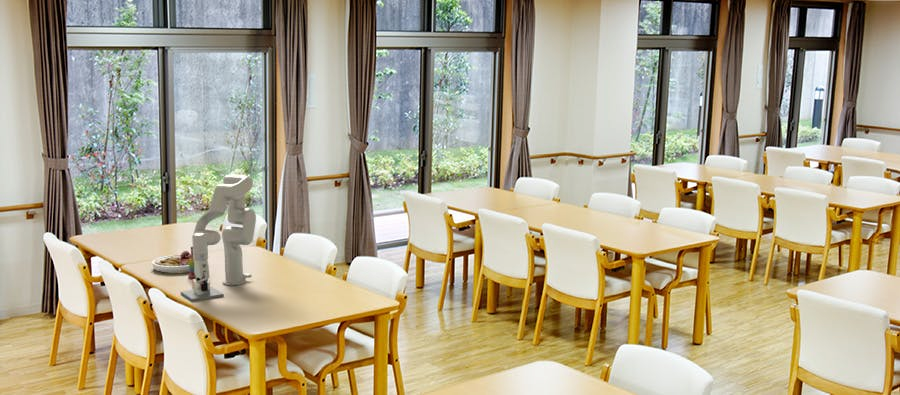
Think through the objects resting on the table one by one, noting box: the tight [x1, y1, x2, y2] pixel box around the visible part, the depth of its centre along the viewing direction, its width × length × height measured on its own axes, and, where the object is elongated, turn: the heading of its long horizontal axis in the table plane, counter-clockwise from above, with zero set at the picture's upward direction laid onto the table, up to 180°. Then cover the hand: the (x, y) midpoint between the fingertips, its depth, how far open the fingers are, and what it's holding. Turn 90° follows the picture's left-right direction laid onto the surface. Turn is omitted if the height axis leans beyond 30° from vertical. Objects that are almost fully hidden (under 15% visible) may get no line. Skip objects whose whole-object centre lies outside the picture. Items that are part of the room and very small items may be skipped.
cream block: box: [193, 279, 211, 295], centre depth 490 cm, size 6×6×6 cm
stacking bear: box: [187, 245, 205, 279], centre depth 527 cm, size 11×10×18 cm
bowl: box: [151, 250, 192, 274], centre depth 547 cm, size 30×30×8 cm
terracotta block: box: [191, 279, 205, 290], centre depth 503 cm, size 6×6×5 cm
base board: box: [180, 286, 225, 303], centre depth 490 cm, size 17×17×2 cm
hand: (201, 289), depth 490 cm, fingers open, 7 cm apart
